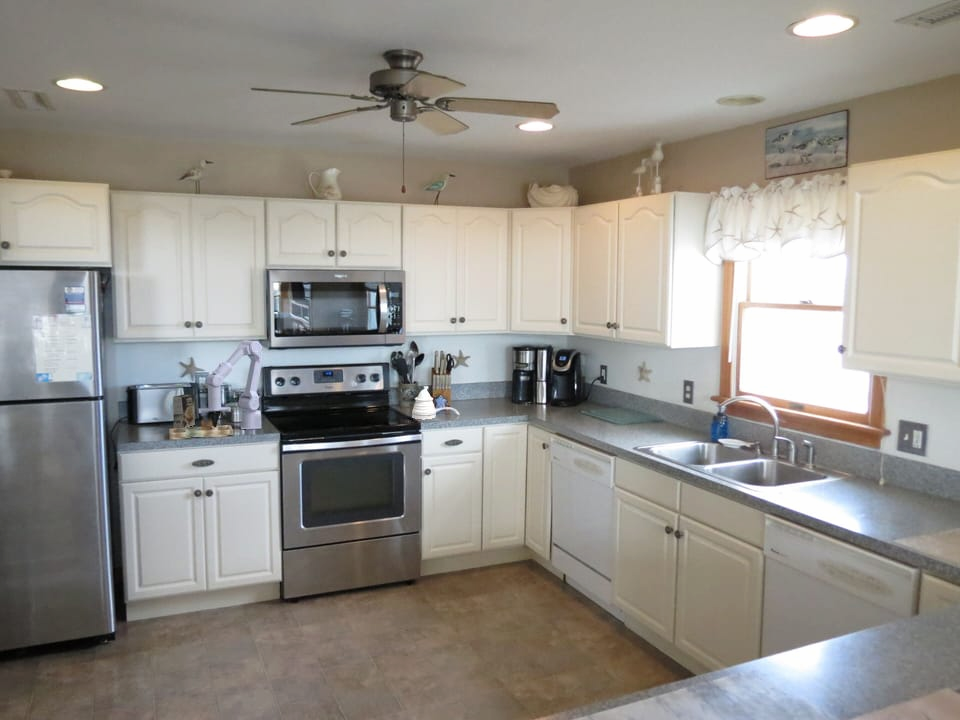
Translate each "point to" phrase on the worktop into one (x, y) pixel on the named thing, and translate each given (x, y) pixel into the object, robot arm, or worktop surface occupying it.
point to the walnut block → (206, 424)
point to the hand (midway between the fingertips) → (215, 426)
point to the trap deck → (200, 432)
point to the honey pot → (424, 406)
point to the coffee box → (183, 411)
